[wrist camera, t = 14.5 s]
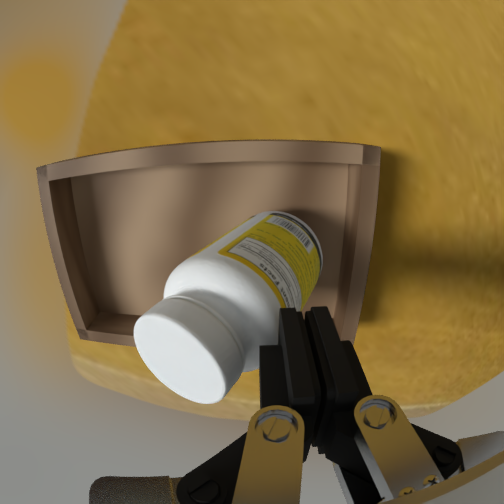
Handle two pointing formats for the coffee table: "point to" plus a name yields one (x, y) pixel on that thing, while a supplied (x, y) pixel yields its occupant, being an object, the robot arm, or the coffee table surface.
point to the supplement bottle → (228, 305)
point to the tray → (202, 220)
